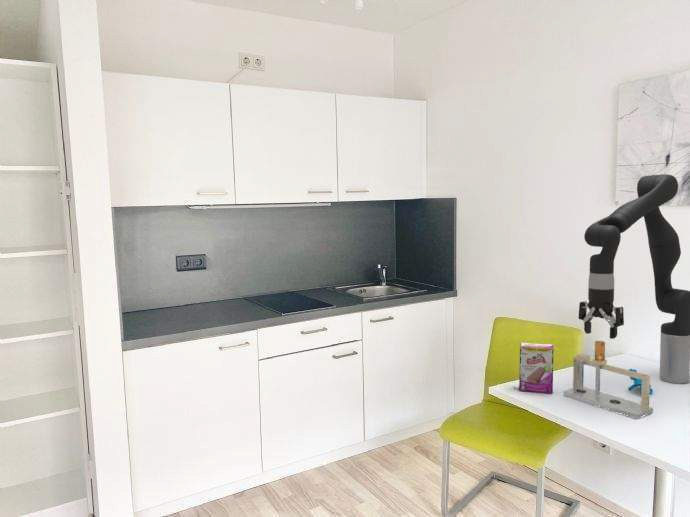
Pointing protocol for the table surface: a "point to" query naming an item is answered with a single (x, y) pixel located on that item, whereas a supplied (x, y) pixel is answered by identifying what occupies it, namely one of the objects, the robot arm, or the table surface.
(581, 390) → the divider frame
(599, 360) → the cylinder
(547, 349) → the candy bar box
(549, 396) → the table surface
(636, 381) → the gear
